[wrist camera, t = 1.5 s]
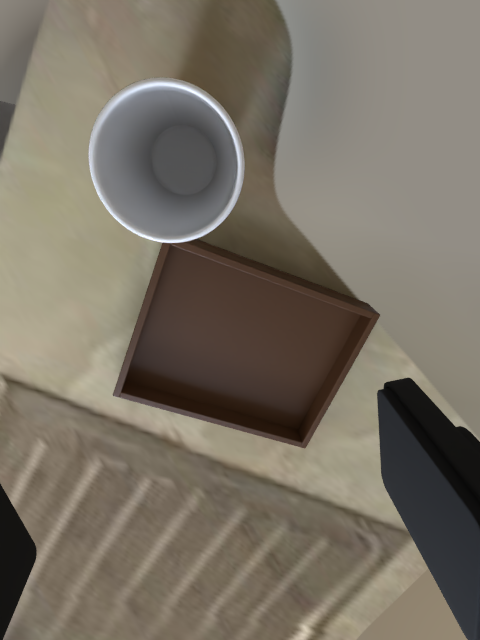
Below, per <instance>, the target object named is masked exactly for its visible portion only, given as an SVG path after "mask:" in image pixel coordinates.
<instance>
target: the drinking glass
mask: <svg viewBox="0 0 480 640" xmlns="http://www.w3.org/2000/svg"><path fill="white" fill-rule="evenodd" d="M89 167H90V173H91V177H92V180H93V183H94V186H95V189H96V191H97V193H98V195H99V197H100V199H101V201H102V202H103V204H104V205H105V207H106V208H107V210H108V211H109V212H110V213H111V215H112V216H113V217H114V218H115V219H116V220H117V221H118V222H120V223H121V224H122V225H123V226H124V227H126V228H127V229H129V230H130V231H132V232H134V233H135V234H137V235H139V236H141V237H144V238H147V239H150V240H153V241H158V242H164V243H180V242H186V241H191V240H194V239H197V238H199V237H202V236H204V235H206V234H207V233H209V232H211V231H212V230H214V229H215V228H216V227H217V226H219V225H220V224H221V223H222V222H223V221H224V220H225V219H226V217H227V216H228V215H229V214H230V212H231V211H232V209H233V208H234V206H235V204H236V202H237V200H238V197H239V195H240V192H241V189H242V185H243V180H244V171H245V161H244V152H243V146H242V143H241V139H240V136H239V133H238V131H237V128H236V126H235V124H234V122H233V121H232V119H231V117H230V116H229V114H228V113H227V112H226V110H225V109H224V108H223V107H222V105H221V104H220V103H219V102H218V101H217V100H216V99H215V98H213V97H212V96H211V95H210V94H208V93H207V92H206V91H204V90H203V89H201V88H199V87H198V86H196V85H193V84H191V83H189V82H186V81H183V80H179V79H175V78H167V77H156V78H148V79H144V80H140V81H137V82H134V83H132V84H130V85H128V86H126V87H125V88H123V89H121V90H120V91H119V92H117V93H116V94H115V95H114V96H113V97H112V98H111V99H110V100H109V101H108V102H107V103H106V104H105V106H104V107H103V108H102V110H101V112H100V113H99V115H98V117H97V119H96V121H95V123H94V126H93V129H92V133H91V137H90V142H89Z"/></svg>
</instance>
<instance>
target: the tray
mask: <svg viewBox="0 0 480 640" xmlns="http://www.w3.org/2000/svg"><path fill="white" fill-rule="evenodd" d="M379 316H380V314H379V313H377V312H376V311H375V310H374V309H373V308H372V307H371V306H370V305H369V304H367V303H365V302H362V301H360V300H357V299H354V298H352V297H349V296H346V295H344V294H341V293H338V292H336V291H333V290H330V289H328V288H325V287H322V286H320V285H317V284H314V283H312V282H309V281H306V280H304V279H301V278H298V277H296V276H293V275H290V274H288V273H285V272H283V271H280V270H277V269H275V268H272V267H269V266H267V265H264V264H261V263H259V262H256V261H253V260H251V259H248V258H245V257H243V256H240V255H237V254H235V253H232V252H229V251H227V250H224V249H221V248H219V247H216V246H213V245H211V244H208V243H205V242H203V241H200V240H197V239H194V240H191V241H186V242H180V243H164V242H163V243H162V246H161V249H160V252H159V256H158V259H157V262H156V265H155V268H154V271H153V274H152V277H151V280H150V283H149V286H148V289H147V292H146V295H145V298H144V301H143V304H142V307H141V311H140V314H139V317H138V320H137V323H136V326H135V329H134V332H133V335H132V338H131V341H130V344H129V347H128V350H127V353H126V356H125V359H124V362H123V365H122V369H121V372H120V375H119V378H118V381H117V384H116V387H115V390H114V393H113V396H116V397H120V398H123V399H127V400H130V401H134V402H138V403H141V404H145V405H149V406H152V407H156V408H160V409H163V410H167V411H171V412H174V413H178V414H181V415H185V416H189V417H192V418H196V419H200V420H203V421H207V422H211V423H214V424H218V425H222V426H225V427H229V428H233V429H236V430H240V431H243V432H247V433H251V434H254V435H258V436H262V437H265V438H269V439H273V440H276V441H280V442H284V443H287V444H291V445H294V446H298V447H302V448H306V446H307V445H308V443H309V441H310V439H311V437H312V436H313V434H314V432H315V430H316V429H317V427H318V425H319V423H320V421H321V420H322V418H323V416H324V414H325V413H326V411H327V409H328V407H329V405H330V404H331V402H332V400H333V398H334V396H335V395H336V393H337V391H338V389H339V388H340V386H341V384H342V382H343V380H344V379H345V377H346V375H347V373H348V372H349V370H350V368H351V366H352V364H353V363H354V361H355V359H356V357H357V356H358V354H359V352H360V350H361V348H362V347H363V345H364V343H365V341H366V340H367V338H368V336H369V334H370V332H371V331H372V329H373V327H374V325H375V324H376V322H377V320H378V318H379Z"/></svg>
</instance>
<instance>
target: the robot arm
mask: <svg viewBox="0 0 480 640" xmlns="http://www.w3.org/2000/svg"><path fill="white" fill-rule="evenodd" d="M377 398H378V417H379V437H380V456H381V474H382V479H383V483H384V486H385V488H386V490H387V492H388V494H389V496H390V498H391V499H392V501H393V503H394V505H395V507H396V509H397V511H398V512H399V514H400V516H401V518H402V520H403V522H404V524H405V525H406V527H407V529H408V531H409V533H410V535H411V537H412V538H413V540H414V542H415V544H416V546H417V548H418V549H419V551H420V553H421V555H422V557H423V559H424V561H425V562H426V564H427V566H428V568H429V570H430V572H431V574H432V575H433V577H434V579H435V581H436V583H437V584H438V587H439V588H440V590H441V592H442V594H443V596H444V598H445V600H446V601H447V603H448V605H449V607H450V609H451V610H452V613H453V614H454V616H455V618H456V620H457V622H458V624H459V626H460V627H461V629H462V631H463V633H464V635H465V636H466V638H467V639H468V640H480V442H479V441H478V440H477V439H476V437H475V436H474V435H473V434H472V433H471V432H469V431H468V430H467V429H466V428H464V427H461V426H460V427H455V426H454V425H453V423H452V422H451V421H450V420H449V419H448V418H447V417H446V416H445V415H444V414H443V413H442V411H441V410H440V409H439V408H438V407H437V406H436V405H435V404H434V403H433V402H432V401H431V399H430V398H429V397H428V396H427V395H426V394H425V393H424V392H423V391H422V390H421V389H420V387H419V386H418V385H417V384H416V383H415V382H414V381H413V380H412V379H411V378H405V379H400V380H395V381H390V382H386V383H385V384H384V389H382V390H379V391H378V393H377ZM35 560H36V546H35V543H34V542H33V540H32V538H31V536H30V535H29V533H28V531H27V529H26V528H25V526H24V524H23V522H22V521H21V519H20V517H19V516H18V514H17V512H16V510H15V509H14V507H13V505H12V503H11V502H10V500H9V498H8V496H7V495H6V493H5V491H4V489H3V488H2V486H1V484H0V640H3V638H4V635H5V633H6V630H7V628H8V626H9V623H10V621H11V618H12V616H13V613H14V611H15V609H16V606H17V604H18V601H19V599H20V597H21V594H22V592H23V589H24V587H25V585H26V582H27V580H28V577H29V575H30V572H31V570H32V568H33V565H34V563H35Z"/></svg>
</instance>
